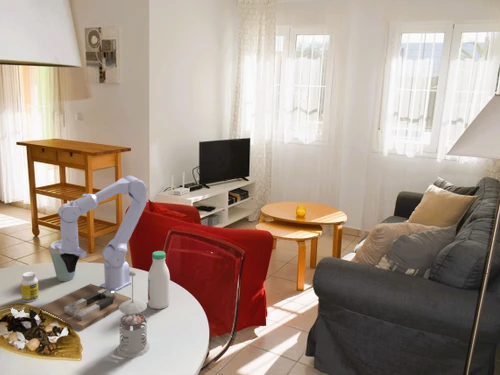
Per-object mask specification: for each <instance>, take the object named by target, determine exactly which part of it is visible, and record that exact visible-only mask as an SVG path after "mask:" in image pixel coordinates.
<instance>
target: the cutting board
mask: <svg viewBox="0 0 500 375" xmlns="http://www.w3.org/2000/svg"><path fill="white" fill-rule="evenodd" d="M102 289H105V288H103V287H100V285H99V286H98V285H95V284H92V283H89V284H87V285H85V286H83V287H80V288H78V289H77V290H76V289H75V290H74V291H71V292H70V293H68V294H65V295H64V296H61V297H59V298H57V299H55V300H53V301H50V302H49V303H46V304H45V305H42V306H40V307H39V310H40V309H41V310H43V311H46V312H48V313H50V314H52V315H54V316H56V317H58V318H60V319H62V320H63V321H65V322H67V323H66V324H68V323H69V324H68V325H70V326H72V327H74V328H77V329H79V330H81V331H82V330H85V329H88V327H90V326H92V325H94V324H95V323H97V322H99V321H101V320H102V319H105V317H108V316H109V315H111V314H113V313H114V312H116V311H118V310H119V306H120V305H121V304H122V303H124V302H125V301H128V300H132V297H130V296H127V295H124V294H122V293H118V292H116V298H114V299H113V304H112V305H110V306H108V307H106V308H104V309H103V310H101V311H99V312H97V313H95V314H93V315H91V316H90V317H88V318H86V319H84V320H79V319H77V318H74V315H73V316H71V315H69V314H67V313H65V312H64V307H66V306H68V305H70V304H72V303H74V302H76V301H78V300H81V299H83V298H84V297H86V296H88V295H90V294H92V293H94V292H97V291H100V290H102ZM103 299H105V298H104V297H103V298H101V299H99V300H97V301H95V302H93V303H91V304H89V305H86V306H84V307H82V308H80V309H79V310H82V311H83V310H85V309H87V308H89V307H91V306H93V305H94V304H95V303H97V302H99V301H101V300H103ZM63 321H62V322H63ZM65 322H64V323H65Z"/></svg>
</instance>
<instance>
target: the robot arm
mask: <svg viewBox="0 0 500 375" xmlns="http://www.w3.org/2000/svg"><path fill="white" fill-rule="evenodd" d="M147 191H148V188H147V185H146V183H145V182H144V181H143V180H142V179H139V178H137V177H136V176H135V175H130V174H129V175H126V176H124V177H121V178H119V179H118V180H117V181H115V182H113V183H111V184H110V185H108V186H106V187H105V188H102V189H101V190H99V191H98V192H96V193H93V194H92V193H84V194H81V197H79V198H77V199H75V200H70V201H69V203H63V204H61V205H60V207H59V208H58V211H57V214H58V216H59V217H60V224H59V225H60V227H59V228H60V240H61V244H60V243H59V244H56V245H55V250H60V251H59V252H60V253H62V254H61V255H60V257H61V258H62V259H63V261H64V263H65V265H66V268H67V271H68V272H69V273H72V272H74V271H75V272H76V269H75V268H77V263H78V261H79V259H84V258H87V254H88V253H87V251H85V250H84V249H83V248H81V247H80V246H79V225H78V219H79V218H80V216H82V215H84V214H86V213H88V212H90V211H92V210H94V209H95V208H97V207H98V205H99V203H100V202H103V201H104V200H107V199H109V198H111V197H114V196H116V195H119V194H122V195H128V197H129V199H130V201H131V203H130V205H129V207H128V209H127V211H126V213H125V215H124V217H123V219H122V221H121V223H120V225H119V227H118V229H117V232H116V234H115V236H114V238H112V239H111V240H110V241H109V242H108V244H107V245H106V246H104V248H103V249H102V253H101V255H102V258H103V259H105V260H104V263H103V264H104V266H103V268H104V270H103V271H104V273H103V274H104V283H102V284H100V285H99V287H101V288H104V289H115V290H116V292H117V291H119V290H121V289H122V288H124V287H126V286H128V285H130V284H132V280H131V276H129V273H130V271H131V268H130V265H129V263H128V262H127V261H126V256H127V253H128V242H129V240H130V239H131V237H132V234H133V232H134V230H135V229H136V227H137V224H138V223H139V220H140V218H141V216H142V214H143V212H144V210H145V208H146V205H147V201H148V200H147V198H148V197H147Z"/></svg>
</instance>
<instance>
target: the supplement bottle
mask: <svg viewBox="0 0 500 375" xmlns="http://www.w3.org/2000/svg"><path fill="white" fill-rule="evenodd" d="M38 280H39V279H38V277H36V272H34V271H26V272H24V273H23V274H22V279H21V281H20V288H21V289H20V290H21V291H20V292H21V300H22V302H25V303H31V302H35V301H38V299H39V281H38Z"/></svg>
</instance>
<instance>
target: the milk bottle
mask: <svg viewBox="0 0 500 375" xmlns="http://www.w3.org/2000/svg"><path fill="white" fill-rule="evenodd" d="M151 254H152V256H151V258H152V263H151V266H150V269H149V270H148V274H147V275H148V276H147V306H148V307H150V308H151V309H155V310H160V309H165V308H168V306H169V305H170V304H171V303H170V299H171V298H170V297H171V296H170V294H171V285H170V284H171V281H170V280H171V277H170V276H171V275H170V271H169V268H168V266H167V264H166V252H165V251H163V250H157V251H154V252H152V253H151Z"/></svg>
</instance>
